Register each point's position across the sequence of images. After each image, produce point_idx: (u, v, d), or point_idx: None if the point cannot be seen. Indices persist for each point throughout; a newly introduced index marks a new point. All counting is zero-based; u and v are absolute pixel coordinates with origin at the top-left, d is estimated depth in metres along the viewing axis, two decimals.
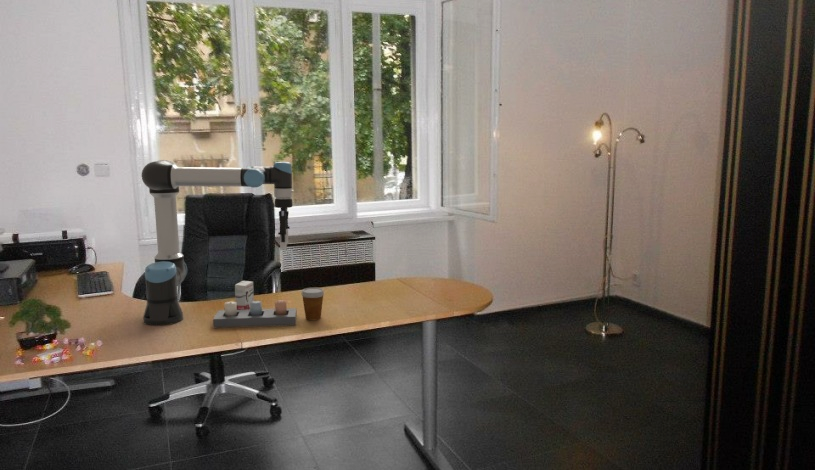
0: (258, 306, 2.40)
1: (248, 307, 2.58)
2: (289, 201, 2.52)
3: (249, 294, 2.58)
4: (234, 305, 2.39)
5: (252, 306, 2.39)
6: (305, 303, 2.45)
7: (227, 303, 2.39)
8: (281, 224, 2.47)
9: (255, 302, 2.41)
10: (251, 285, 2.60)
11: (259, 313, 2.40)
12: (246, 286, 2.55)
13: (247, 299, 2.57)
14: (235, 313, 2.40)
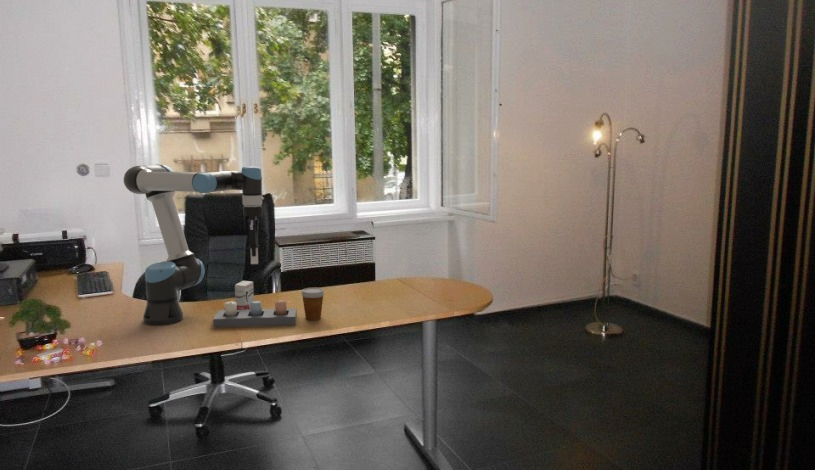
0: (258, 306, 2.40)
1: (248, 307, 2.58)
2: (258, 209, 2.33)
3: (249, 294, 2.58)
4: (234, 305, 2.39)
5: (252, 306, 2.39)
6: (305, 303, 2.45)
7: (227, 303, 2.39)
8: (250, 239, 2.32)
9: (255, 302, 2.41)
10: (251, 285, 2.60)
11: (259, 313, 2.40)
12: (246, 286, 2.55)
13: (247, 299, 2.57)
14: (235, 313, 2.40)
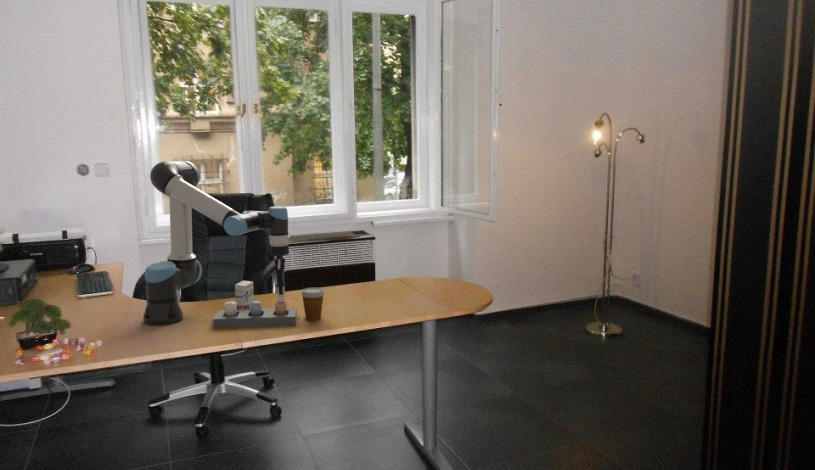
0: (258, 306, 2.40)
1: (248, 307, 2.58)
2: (285, 248, 2.37)
3: (249, 294, 2.58)
4: (234, 305, 2.39)
5: (252, 306, 2.39)
6: (305, 303, 2.45)
7: (227, 303, 2.39)
8: (277, 278, 2.36)
9: (255, 302, 2.41)
10: (251, 285, 2.60)
11: (259, 313, 2.40)
12: (246, 286, 2.55)
13: (247, 299, 2.57)
14: (235, 313, 2.40)
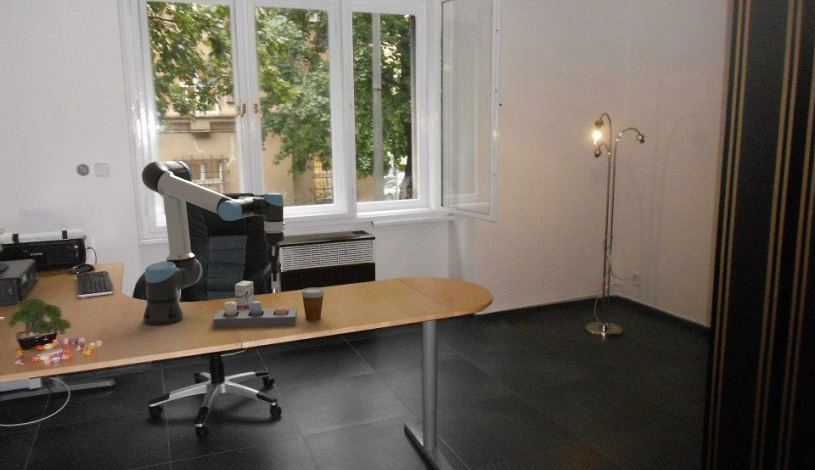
0: (258, 306, 2.40)
1: (248, 307, 2.58)
2: (280, 235, 2.36)
3: (249, 294, 2.58)
4: (234, 305, 2.39)
5: (252, 306, 2.39)
6: (305, 303, 2.45)
7: (227, 303, 2.39)
8: (272, 264, 2.35)
9: (255, 302, 2.41)
10: (251, 285, 2.60)
11: (259, 313, 2.40)
12: (246, 286, 2.55)
13: (247, 299, 2.57)
14: (235, 313, 2.40)
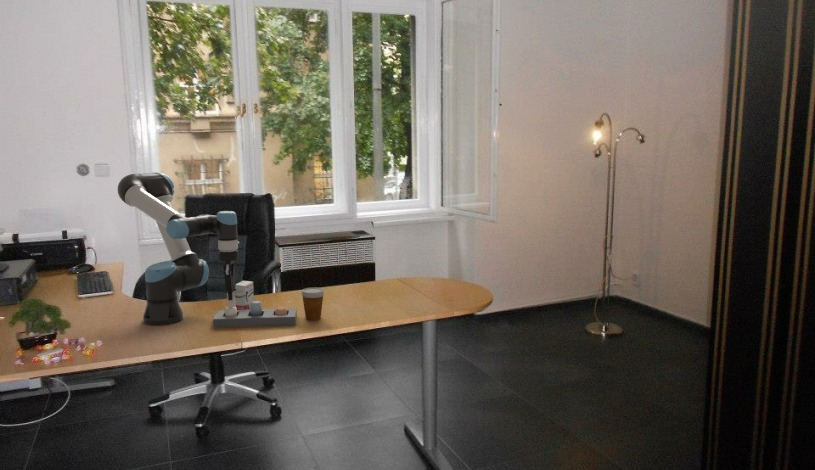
0: (258, 306, 2.40)
1: (248, 307, 2.58)
2: (234, 254, 2.34)
3: (249, 294, 2.58)
4: (234, 310, 2.39)
5: (252, 306, 2.39)
6: (305, 303, 2.45)
7: (227, 308, 2.40)
8: (226, 283, 2.34)
9: (255, 302, 2.41)
10: (251, 285, 2.60)
11: (259, 313, 2.40)
12: (246, 286, 2.55)
13: (247, 299, 2.57)
14: None
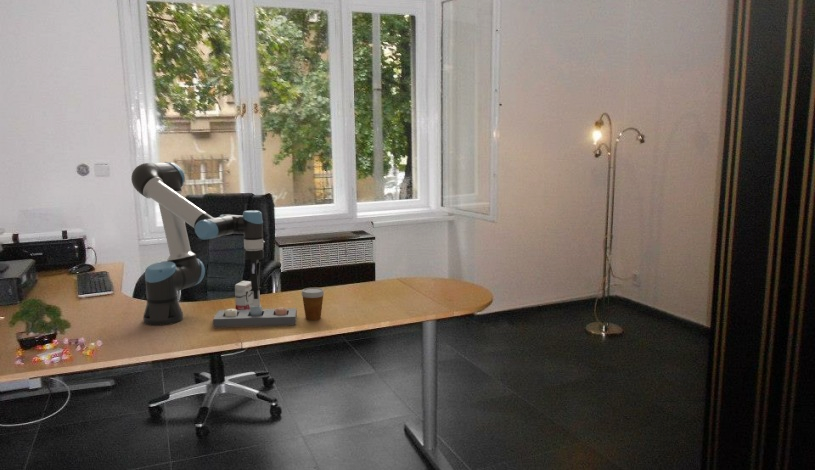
0: (258, 310, 2.40)
1: (248, 307, 2.58)
2: (260, 253, 2.35)
3: (249, 294, 2.58)
4: (234, 312, 2.39)
5: (252, 310, 2.40)
6: (305, 303, 2.45)
7: (227, 310, 2.40)
8: (252, 282, 2.35)
9: (255, 306, 2.41)
10: None
11: None
12: (246, 286, 2.55)
13: (247, 299, 2.57)
14: None
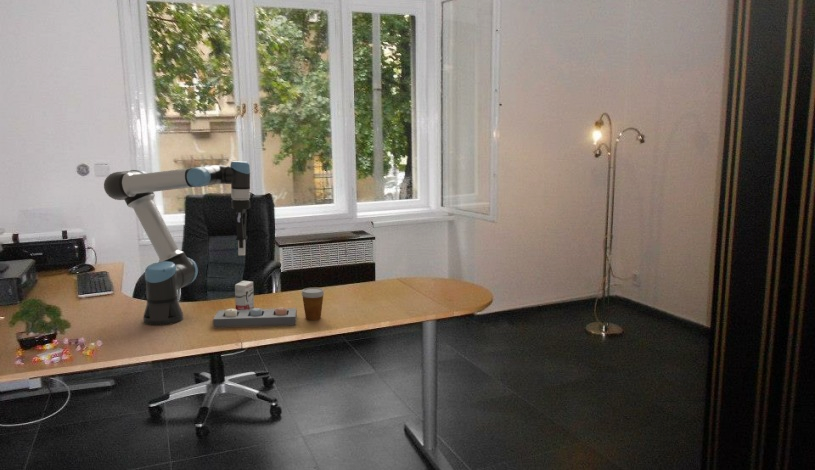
0: (258, 313, 2.40)
1: (248, 307, 2.58)
2: (246, 202, 2.41)
3: (249, 294, 2.58)
4: (234, 312, 2.39)
5: (252, 313, 2.40)
6: (305, 303, 2.45)
7: (227, 310, 2.40)
8: (237, 231, 2.41)
9: (255, 309, 2.42)
10: (251, 285, 2.60)
11: None
12: (246, 286, 2.55)
13: (247, 299, 2.57)
14: None
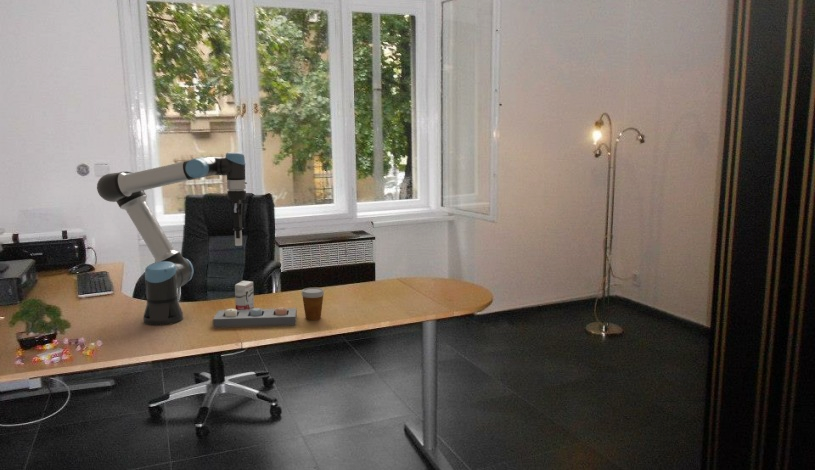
0: (258, 313, 2.40)
1: (248, 307, 2.58)
2: (242, 193, 2.44)
3: (249, 294, 2.58)
4: (234, 312, 2.39)
5: (252, 313, 2.40)
6: (305, 303, 2.45)
7: (227, 310, 2.40)
8: (234, 221, 2.44)
9: (255, 309, 2.42)
10: (251, 285, 2.60)
11: None
12: (246, 286, 2.55)
13: (247, 299, 2.57)
14: None
